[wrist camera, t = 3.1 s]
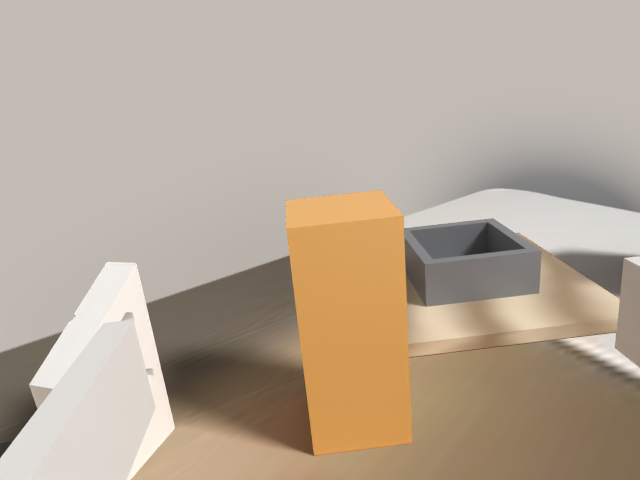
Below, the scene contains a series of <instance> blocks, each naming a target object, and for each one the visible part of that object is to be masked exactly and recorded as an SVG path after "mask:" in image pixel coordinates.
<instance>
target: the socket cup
mask: <svg viewBox="0 0 640 480" xmlns="http://www.w3.org/2000/svg"><path fill="white" fill-rule="evenodd" d="M404 243H405V268H406V275H407V277H408V279H409V280H410V282H411V283H412V285H413V287H414V288H415V290H416V291H417V293H418V295H419V296H420V298H421V299H422V301H423V303H424V304H425V306H426V307H429V306H438V305H446V304H455V303H463V302H472V301H480V300H489V299H497V298H505V297H514V296H522V295H531V294H539V290H540V273H541V256H542V251H541V250H539V249H538V248H536V247H535V246H534V245H532V244H531V243H529V242H528V241H526V240H525V239H523V238H522V237H520V236H519V235H517V234H516V233H514V232H513V231H511V230H510V229H508V228H507V227H505V226H504V225H502V224H501V223H499V222H498V221H496V220H495V219H484V220H475V221H466V222H457V223H448V224H439V225H430V226H422V227H413V228H404Z"/></svg>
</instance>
